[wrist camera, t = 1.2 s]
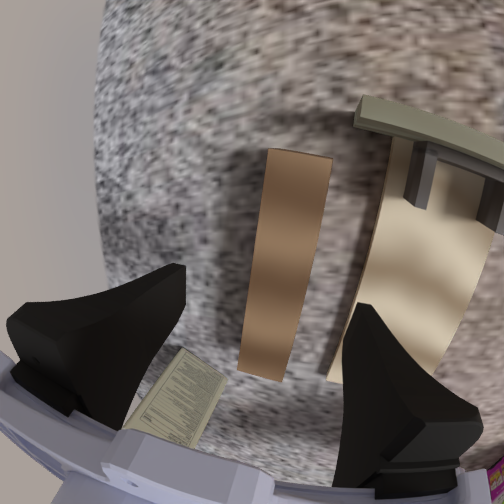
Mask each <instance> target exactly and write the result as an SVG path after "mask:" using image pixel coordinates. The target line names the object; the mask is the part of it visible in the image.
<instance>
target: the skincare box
mask: <svg viewBox="0 0 504 504" xmlns="http://www.w3.org/2000/svg"><path fill="white" fill-rule="evenodd" d="M227 381H228V379H227V378H226V377H225V376H223V375H222V374H220V373H219V372H217V371H216V370H214V369H213V368H211V367H210V366H209V365H207V364H206V363H204V362H203V361H201V360H200V359H199V358H197V357H196V356H194V355H193V354H191V353H190V352H188V351H187V350H186V349H184V348H181V349H180V351H179V352H178V353H177V354H176V355H175V357H174V358H173V360H172V361H171V362H170V364H169V365H168V366H167V367H166V369H165V370H164V371H163V373H162V374H161V376H160V377H159V378H158V380H157V381H156V382H155V384H154V385H153V386H152V388H151V389H150V390H149V392H148V393H147V394H146V396H145V397H144V399H143V400H142V401H141V403H140V404H139V405H138V407H137V408H136V410H135V411H134V412H133V414H132V415H131V416H130V418H129V419H128V420H127V422H126V423H125V425H124V426H123V427H122V429H121V430H123V429H132V428H133V429H137V430H140V431H143V432H147V433H150V434H153V435H155V436H158V437H160V438H163V439H166V440H169V441H171V442H174V443H177V444H180V445H183V446H186V447H189V448H192V449H195V447H196V445H197V443H198V441H199V439H200V437H201V435H202V433H203V430H204V428H205V426H206V424H207V423H208V421H209V418H210V416H211V414H212V412H213V410H214V408H215V406H216V404H217V402H218V400H219V398H220V396H221V394H222V391H223V389H224V387H225V385H226V383H227Z"/></svg>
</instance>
